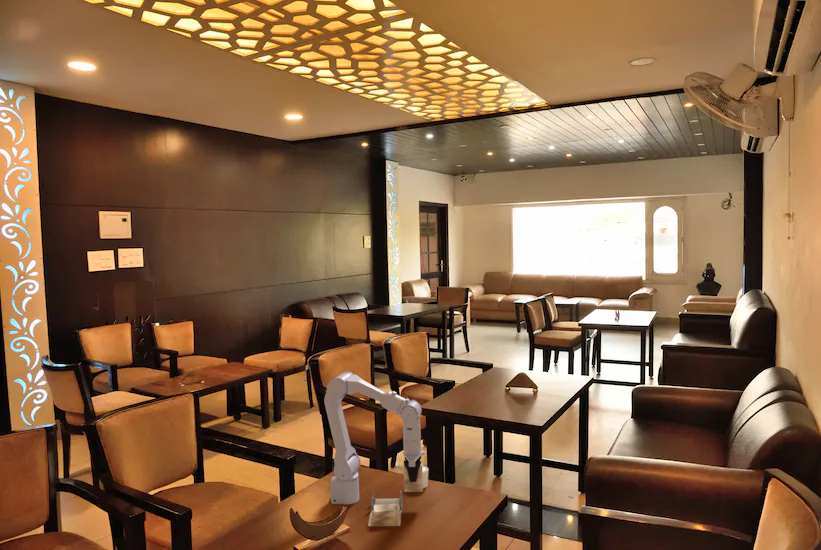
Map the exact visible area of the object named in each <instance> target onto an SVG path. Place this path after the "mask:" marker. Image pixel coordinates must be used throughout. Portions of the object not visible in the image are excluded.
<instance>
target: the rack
mask: <svg viewBox="0 0 821 550" xmlns="http://www.w3.org/2000/svg"><path fill="white" fill-rule="evenodd" d="M375 497H376V496H375V491H372V492H371V497H370V509H371V510H370V514H369V520H368V524H367V527H400V526H401V522H402V513H403V511H402V510H403V491H402V490H400V491H399V497H398V498H375ZM384 504H394V506H395V510H398V521H397V524H371V517H372V512H373V510H374V505H384Z"/></svg>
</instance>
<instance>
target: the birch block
mask: <svg viewBox="0 0 821 550" xmlns="http://www.w3.org/2000/svg"><path fill="white" fill-rule="evenodd" d="M422 466H423V462H421V465H420V467H419V470H418V476H417V481H416V482H410V480H409V476H408V472H407V469H406V467H405V465H404V464H403V487H404V493H411V492H412V493H421V492H424V488H423V473H422Z"/></svg>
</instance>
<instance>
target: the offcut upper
mask: <svg viewBox="0 0 821 550" xmlns="http://www.w3.org/2000/svg"><path fill="white" fill-rule="evenodd" d="M374 515H375V518H385V517H395V516H396V513H395V506H394V504H384V505H374Z"/></svg>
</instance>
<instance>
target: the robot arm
mask: <svg viewBox="0 0 821 550" xmlns="http://www.w3.org/2000/svg"><path fill="white" fill-rule="evenodd" d="M356 393H360V394H362V395H364V396H366V397H369V398H370V399H373V400H375V401H378V402H379V403H380V405H381V407H382V408H384V409H386V410H387V411H389V412H392V413H393V414H395V415H397V416H399V417H400V419H401V420H402V432H403V433H402V434H403V435H402V436H403V438H402V439H403V440H402V441H403V443H402V444H403V451H402V455H403V456H404V460H403V466H404V465H405V467H406V469H407V472H408V476H409V480H410V482H416V481H417V476H418V470H419V467H420V465H421V463H422V461H421V459H422V456H425V454H426V451H425V450H422V440H421V439H422V435H421V434H422V433H421V418H420V415H421V414H422V409H423V407H422V405H421V404H420V403H419V402H418V401H417V400H416V399H411V400H410V399H409V398H405V397H403V396H400V395H399V394H397V393H398V392H396V391H395V390H393V391H391V390H390V391H389V390H388V391H385V392H384V391H383V390H381V389H379V388H378V387H377V386H374V385H373V384H371V383H369V382H368V381H366V380H364V379H363V378H361V377H360V376H359V375H357V374H353V372H351V371H343V372H341V373H340V374H339V375H337V376H336V377H333V378H331V380H330V381H329V382H328V383H327V384H326V391H325V395H324V399H323V402H324V406H325V411H326V415H327V419H328V423H329V424H328V425H329V428H330V432H331V437H332V441H333V444H334V445H333V446H334V450H335V453H334V458H333V461H334V462H333V463H334V467H333V474H334V476H331V478H330V479H331V480H330V502H331V503H330V504H331V505H353V504H355V503H357V502H359V500H360V486H359V485H360V484H359V482H360V481H359V472H358V471H359V470H358V469H359V468H360V467H361V458H360V456H359V455H358V453H357V452H356V449H355V448H354V447H353V446H352V444H351V439H350V435H349V430H348V427H347V423H346V419H345V414H344V410H343V406H342V400H343V399H344V397H345V396H346V395H351V394H356Z"/></svg>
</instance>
